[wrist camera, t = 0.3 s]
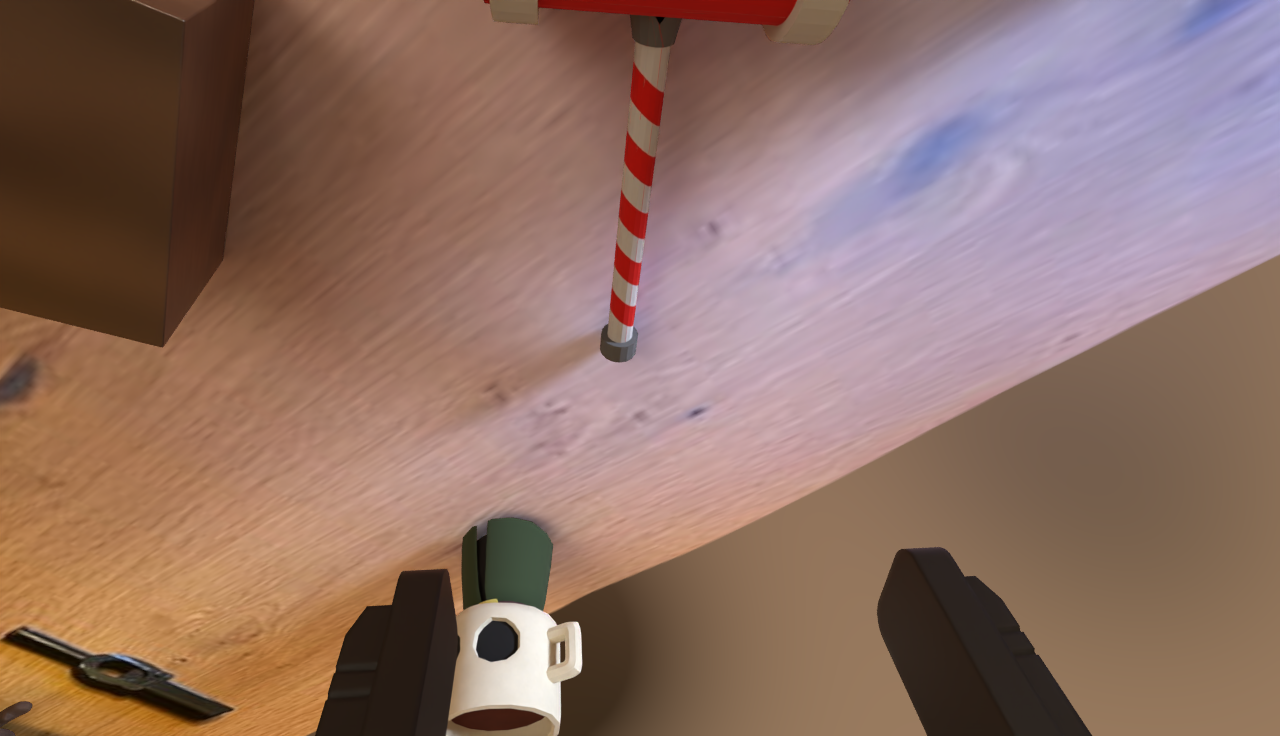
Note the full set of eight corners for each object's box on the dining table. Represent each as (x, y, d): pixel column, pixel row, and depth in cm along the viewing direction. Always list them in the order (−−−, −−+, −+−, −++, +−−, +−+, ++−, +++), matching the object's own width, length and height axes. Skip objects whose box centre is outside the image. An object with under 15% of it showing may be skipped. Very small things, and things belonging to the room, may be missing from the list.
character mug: (548, 483, 44) (549, 681, 34) (599, 537, 49) (612, 726, 39) (412, 539, 46) (375, 739, 37) (472, 585, 51) (454, 775, 41)
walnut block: (-143, -204, 20) (-362, -201, 15) (258, -27, 24) (185, 21, 19) (-78, 171, 27) (-213, 255, 23) (222, 260, 31) (163, 348, 27)
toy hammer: (722, 339, 38) (747, 420, 33) (508, 338, 36) (502, 423, 31) (834, -187, 23) (910, -179, 18) (482, -228, 21) (463, -232, 17)
